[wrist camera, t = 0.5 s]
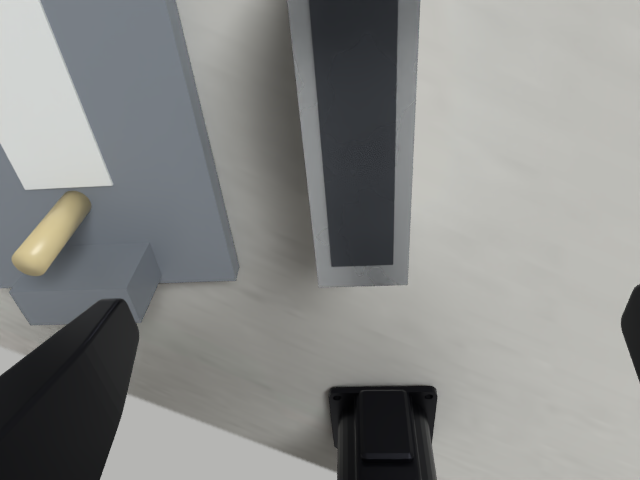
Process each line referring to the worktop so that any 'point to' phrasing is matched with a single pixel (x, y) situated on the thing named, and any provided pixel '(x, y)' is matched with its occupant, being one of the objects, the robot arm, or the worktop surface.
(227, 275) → the drive dock
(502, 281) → the worktop surface
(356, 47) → the drive
